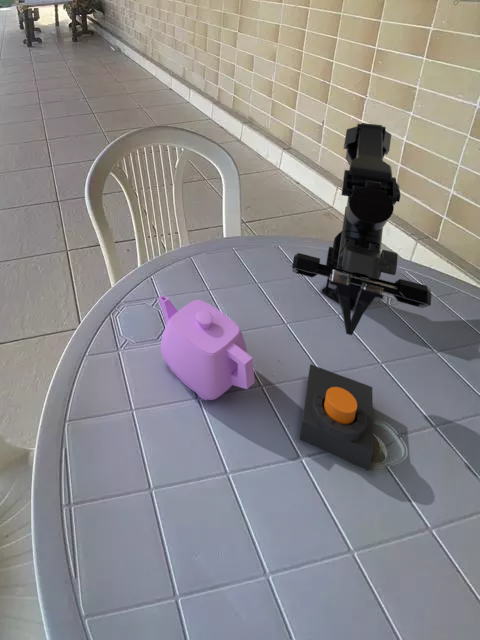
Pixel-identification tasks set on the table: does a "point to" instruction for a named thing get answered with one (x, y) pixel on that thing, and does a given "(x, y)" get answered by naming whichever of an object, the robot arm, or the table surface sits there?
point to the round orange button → (340, 405)
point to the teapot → (205, 349)
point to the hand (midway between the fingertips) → (349, 334)
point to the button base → (332, 435)
